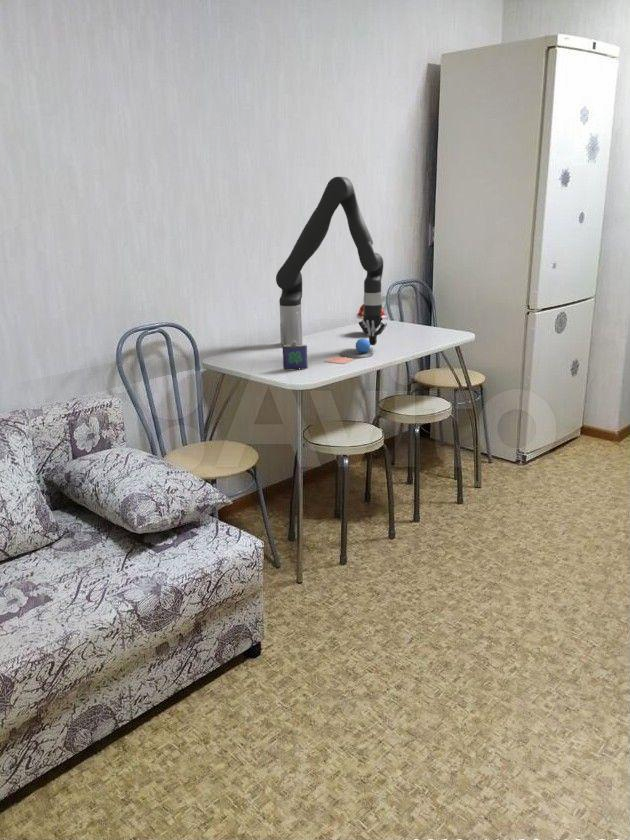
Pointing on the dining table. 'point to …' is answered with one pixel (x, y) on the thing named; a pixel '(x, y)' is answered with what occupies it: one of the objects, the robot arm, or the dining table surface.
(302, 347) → the flask
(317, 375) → the dining table surface
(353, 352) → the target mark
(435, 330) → the dining table surface
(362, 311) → the decorative mushroom
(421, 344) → the dining table surface
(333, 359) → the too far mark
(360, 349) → the ball
